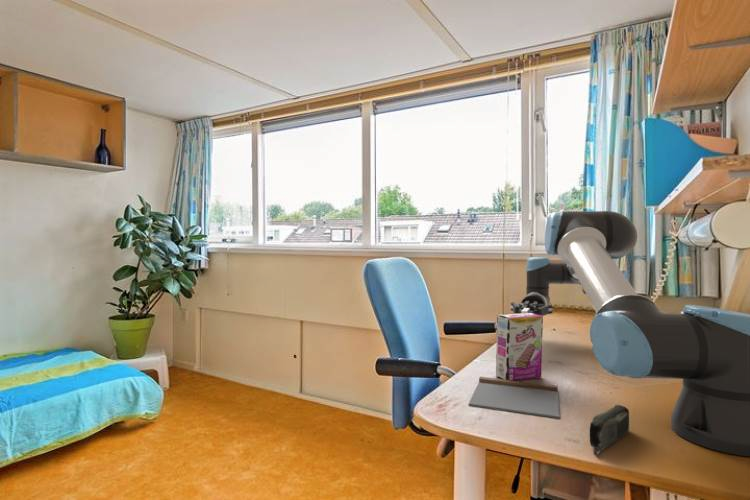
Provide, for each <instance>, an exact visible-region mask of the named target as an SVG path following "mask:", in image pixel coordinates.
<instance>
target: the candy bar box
mask: <svg viewBox="0 0 750 500" xmlns="http://www.w3.org/2000/svg"><path fill="white" fill-rule="evenodd" d="M496 316H497V318H496V357H495V359H496V360H495V361H496V362H495V377H496V378H497V379H505V380H513V381H526V380H531V379H533V380H534V379H538V378H542V369H543V368H542V365H543V363H542V362H543V361H542V356H543V323H544V319H543V318H544V316H541V315H538V314H533V313H520V314H514V313H508V314H507V313H505V314H497V315H496Z"/></svg>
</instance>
